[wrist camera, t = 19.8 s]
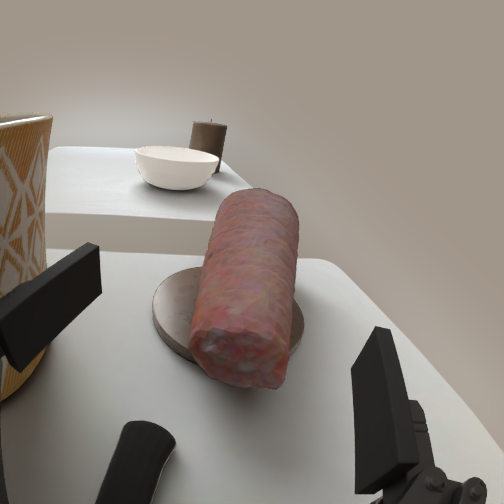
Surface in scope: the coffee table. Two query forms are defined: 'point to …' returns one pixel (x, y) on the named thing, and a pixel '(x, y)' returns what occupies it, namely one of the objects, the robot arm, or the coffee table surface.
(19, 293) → the robot arm
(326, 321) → the coffee table surface
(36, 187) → the planter
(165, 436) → the kitchen cleaver
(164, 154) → the bowl
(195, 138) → the pillar candle
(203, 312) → the food
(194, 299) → the cake board
